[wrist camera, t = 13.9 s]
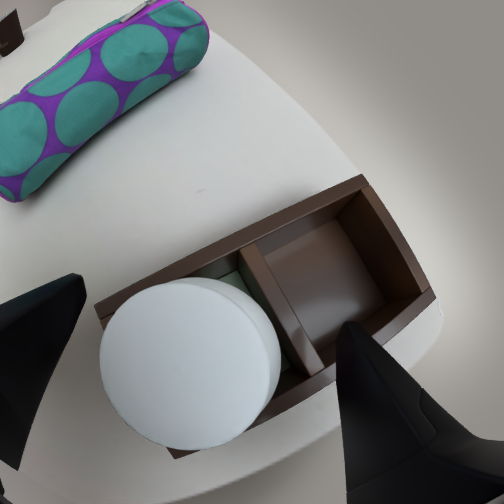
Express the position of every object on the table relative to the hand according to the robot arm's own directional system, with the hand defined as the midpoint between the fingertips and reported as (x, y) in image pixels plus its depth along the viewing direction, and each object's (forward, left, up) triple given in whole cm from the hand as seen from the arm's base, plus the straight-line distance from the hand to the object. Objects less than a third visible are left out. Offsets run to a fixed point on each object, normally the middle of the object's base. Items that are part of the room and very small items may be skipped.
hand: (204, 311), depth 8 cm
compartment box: (0, -3, -8) cm, 8 cm away
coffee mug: (+60, +43, -8) cm, 74 cm away
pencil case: (+18, +9, -8) cm, 22 cm away
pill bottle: (-1, 0, -7) cm, 7 cm away
